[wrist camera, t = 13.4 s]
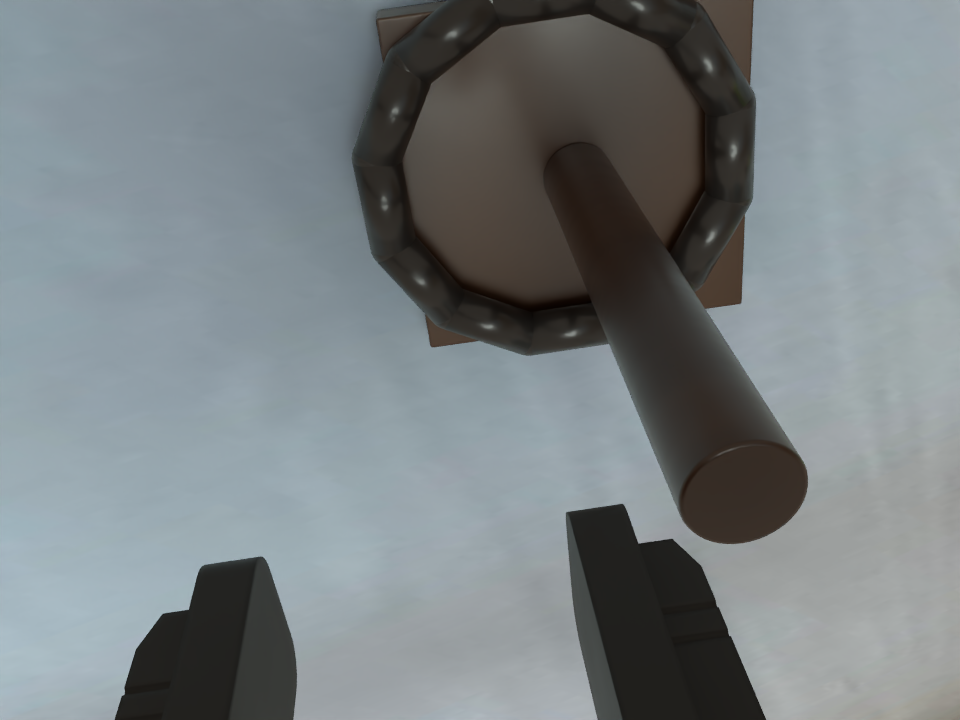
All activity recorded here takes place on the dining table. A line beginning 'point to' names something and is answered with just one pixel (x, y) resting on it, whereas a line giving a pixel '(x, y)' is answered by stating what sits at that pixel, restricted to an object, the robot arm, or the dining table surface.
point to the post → (603, 235)
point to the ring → (451, 36)
